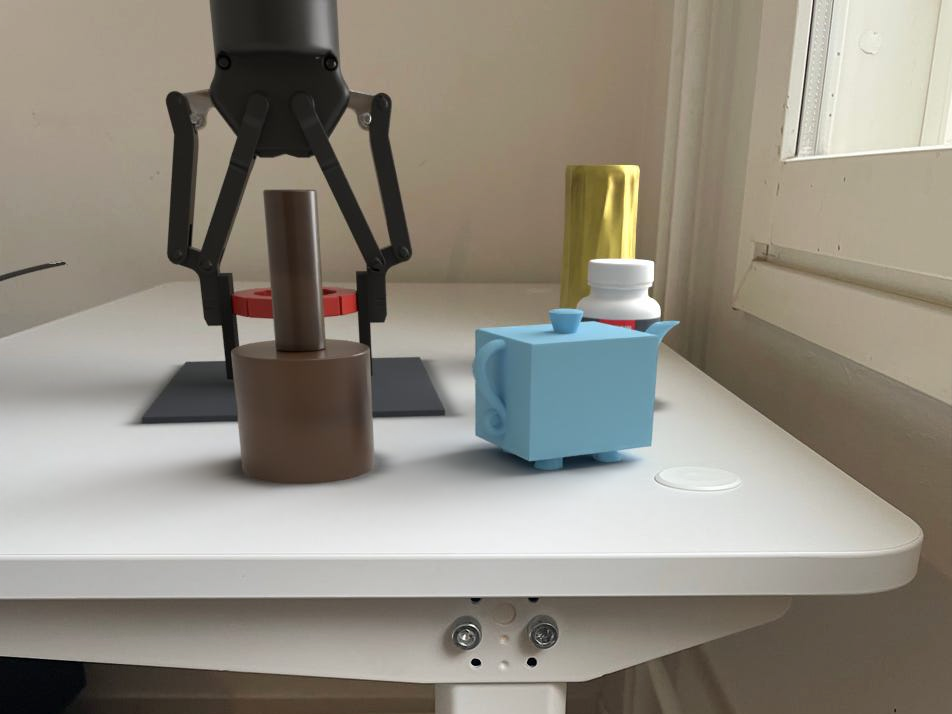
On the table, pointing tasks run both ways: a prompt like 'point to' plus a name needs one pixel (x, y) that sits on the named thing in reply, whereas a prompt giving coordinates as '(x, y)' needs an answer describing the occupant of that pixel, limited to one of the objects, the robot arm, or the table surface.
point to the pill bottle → (620, 294)
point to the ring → (260, 302)
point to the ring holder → (301, 367)
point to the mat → (213, 398)
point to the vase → (596, 223)
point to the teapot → (566, 388)
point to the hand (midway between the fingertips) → (301, 373)
